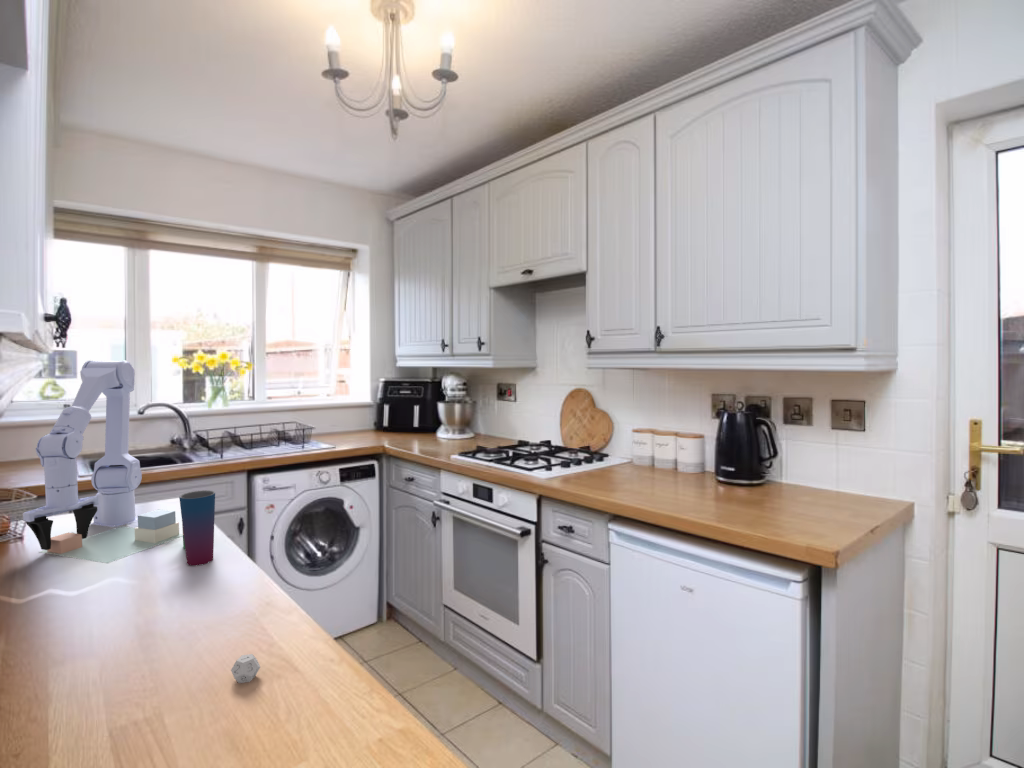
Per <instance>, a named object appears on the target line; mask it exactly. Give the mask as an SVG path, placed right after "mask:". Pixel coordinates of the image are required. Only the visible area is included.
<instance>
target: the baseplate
mask: <svg viewBox="0 0 1024 768" xmlns="http://www.w3.org/2000/svg"><path fill="white" fill-rule="evenodd" d="M134 528H135V527H130V526H123V525H121V526H118V527H113V528H111V529H108V530H104V531H102V532H99V533H95V534H92V535H89V536H87V538H85V539H82V547H81V548H78V549H74V550H71V551H68V552H65V553H62V554H59V553H53V552H47V550H43V549H42V550H40V551H39V553H42V554H49V555H54V556H59V557H66V558H74V559H79V560H84V561H85V560H86V561H91V562H97V563H102V564H103V563H104V564H110V563H112V562H115V561H118V560H120V559H123V558H126V557H129V556H132V555H134V554H137V553H139V552H142V551H145V550H148V549H151V548H153V547H157V546H158V545H162V544H164V543H167V542H170V541H172V540H173V541H174V540H175V539H177V538H181V537H183V533H179V535H176V536H173V537H170V538H168V539H165V540H162V541H159V542H157V543H151V542H144V541H137V540H135V531H134Z"/></svg>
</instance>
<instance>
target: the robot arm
mask: <svg viewBox="0 0 1024 768" xmlns="http://www.w3.org/2000/svg"><path fill="white" fill-rule="evenodd" d="M79 373H80V380H81V383H80V385H79V386H80V387H79V389H78V391H77V394H76V396H75V398H74V399H73V403H72V404H71V406H67V407H65V408H63V410H62V411H61V413H60V415H59V417H57V420H56V422H55V423H54V425H53V427H52V428H51V430H50V432H49V433H48V434H47V433H46V435H44V436H42V437H40V438H39V439H38V440H37V441H38V442H37V445H36V447H35V453H36V456H37V457H38V458H39V460H40V465H41V467H42V468H43V472H44V474H43V475H44V488H45V489H44V491H45V494H44V495H45V505H43V506H41V507H38V508H35V509H31V510H28V511H25V512H23V513H22V520H23V522H25V524H26V525H27V526H28V527H29V529H30V530H31V531H32V533H33V534H34V536H35V538H36V539H37V541H38V544H39V546H40V550H42V551H43V550H49V549H51V537H52V527H53V523H54V520H52V519H49V518H48V517H50V516H51V517H53V516H56V515H59V514H62V513H66V512H71V511H72V512H73V515H74V519H75V525H76V527H75V528H76V534H82V539H85V538H87V537H88V534H89V530H90V526H91V525H94V526H95V525H96V526H102V527H110V528H118V527H121V526H123V525H128V524H130V523H134V522H138V516H136V502H135V501H136V499H135V490H136V489H138V487H139V486H140V484H141V482H142V477H143V472H142V469H141V463H140V460H139V459H138V458H136V457H134V456H133V455H131V454H130V453H129V446H130V445H129V443H130V442H129V441H130V440H129V439H130V410H131V409H130V408H131V407H130V405H131V401H130V400H131V392H133V391H134V390H135V375H136V374H135V373H136V371H135V369H134V367H133V365H132V364H131V362H129V361H128V360H126V359H125V360H86V361H85V362H84V363H83V365H82V367H81V369H80V372H79ZM101 394H103V395H104V396H105V397H106V398H105V399H106V400H105V401H106V403H105V404H106V405H105V435H104V436H105V440H104V442H105V443H104V455H103V456H102V457H101V458H99V459H97V461H95V462H94V468H93V472H92V474H91V478H90V479H91V485H92V487H93V488H94V489H95V490H96V491H97V492H96V494H95V495H91V496H87V497H81V498H79V486H78V485H79V484H78V471H77V470H78V469H77V468H78V465H77V457H78V456H79V455H80V453H82V450H83V440H84V435H83V434H84V433H85V431H86V429H87V427H88V426H89V424H90V421H91V420H92V414H91V413H90V410H91V409H92V408H93V406H94V404H95V403H96V402H97V400H98V399H99V397H100V395H101ZM92 521H93V522H92Z"/></svg>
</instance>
